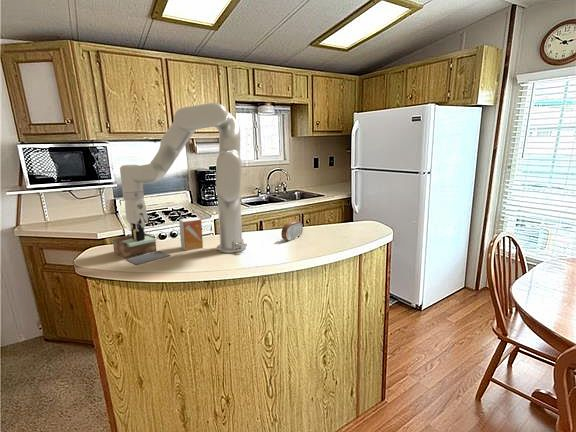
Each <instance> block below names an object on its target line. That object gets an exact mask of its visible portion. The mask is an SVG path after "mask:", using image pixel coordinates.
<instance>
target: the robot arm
mask: <svg viewBox="0 0 576 432" xmlns="http://www.w3.org/2000/svg"><path fill="white" fill-rule="evenodd" d="M207 128H216V129H217V130H218V133H219V135H218V137H219V138H218V139H219V141H218V143H219V147H218V148H219V149H218V150H219V151H218V156H217V158H216V167H215V169H216V170H215V194H216V195H217V207H218V209H217V210H218V226H219V227H218V228H219V229H218V231H219V232H218V233H219V244H218V245H217V246H216V251H217V252H219V253H224V254H227V253H228V254H231V253H233V254H234V253H239V252H242V251H244V250H246V249H247V246H248V243H246V242H244V239H243V233H242V232H243V231H242V230H243V229H242V228H243V227H242V205H241V204H242V203H241V185H242V184H241V182H242V180H241V179H242V159H241V130H240V126H239V123H238V120H237V119H236V118H235V116H233V115H232V114H231V112H229V111H228V110H227V109H226V107H225V106H224V105H223V104H221V103H219V102H208V103H203V104H198V105H197V104H196V105H191V106H183V107H181V108H179V109H177V110H176V111H175V113H174V116H173V121H172V123H171V125H170V126H169V128H168V129H167V130H166V132H165V133H164V134H163V135H162V137H161V139H160V145H159V147H158V151H157V153H156V154H155V156H154V157H153V159H152V160H151V161H150V162H149V163H148V164H141V165H139V164H124V165H121V166H120V167H119V173H120V174H119V175H120V180H121V189H122V199H123V201H124V206H125V208H124V210H125V218H126V221H127V222H128V223H129V225H130V226H129V227H130V231H131V235H132V239H134V233H133V230H134V229H136V240H137V241H140V240H144V239H145V236H144V233H145V227H146V225H147V223H148V222H149V218H148V211H147V206H146V203H145V195H144V186H143V184H154V183H156V182H158V181H160V180H162V179H163V178H164V176H166V174H167V173H168V171H169V170H170V168H171V167H172V166H173V164H174V162H175V161H176V159H177V158H178V156H179V155H180V153H181V152H182V150H183V149H184V147H185V146H186V144H187V143H188V142H189V140H190V139H191V137H192V136H194V134H195V132H196V131H197V130H200V129H207Z"/></svg>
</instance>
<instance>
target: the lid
mask: <svg viewBox="0 0 576 432" xmlns="http://www.w3.org/2000/svg"><path fill="white" fill-rule="evenodd" d="M133 233H134V239H129V240H124V241H122V242H124V243H126V246H128V247H133V246H137V245H141V244H145V243H150V242H154V241H157V239H156V237H155V238H152V237H149V236H145V239H144V240H140V241H137V240H136V229H134V230H133Z"/></svg>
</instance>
